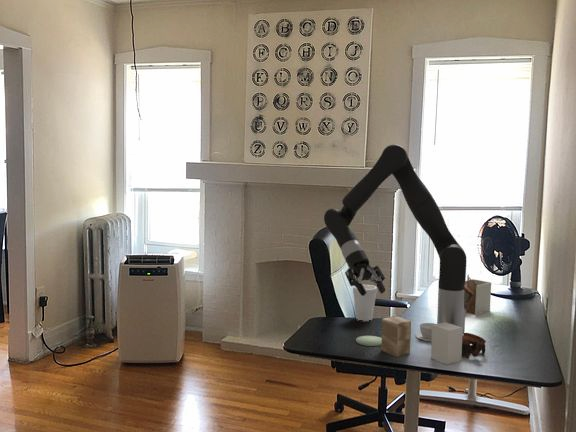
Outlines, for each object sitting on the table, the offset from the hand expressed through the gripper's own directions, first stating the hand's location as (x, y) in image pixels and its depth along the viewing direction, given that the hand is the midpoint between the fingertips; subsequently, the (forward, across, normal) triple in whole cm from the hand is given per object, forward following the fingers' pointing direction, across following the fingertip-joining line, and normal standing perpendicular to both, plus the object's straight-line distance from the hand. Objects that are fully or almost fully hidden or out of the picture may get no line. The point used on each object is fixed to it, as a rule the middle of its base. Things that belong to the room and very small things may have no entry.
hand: (373, 293), depth 217 cm
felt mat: (+12, 0, +13) cm, 18 cm away
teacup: (+17, +22, +8) cm, 29 cm away
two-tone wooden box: (+4, +66, +21) cm, 70 cm away
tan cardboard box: (+21, 0, +4) cm, 21 cm away
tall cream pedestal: (+30, +9, -6) cm, 32 cm away
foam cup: (-5, +17, +30) cm, 35 cm away
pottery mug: (+32, +20, -7) cm, 38 cm away
